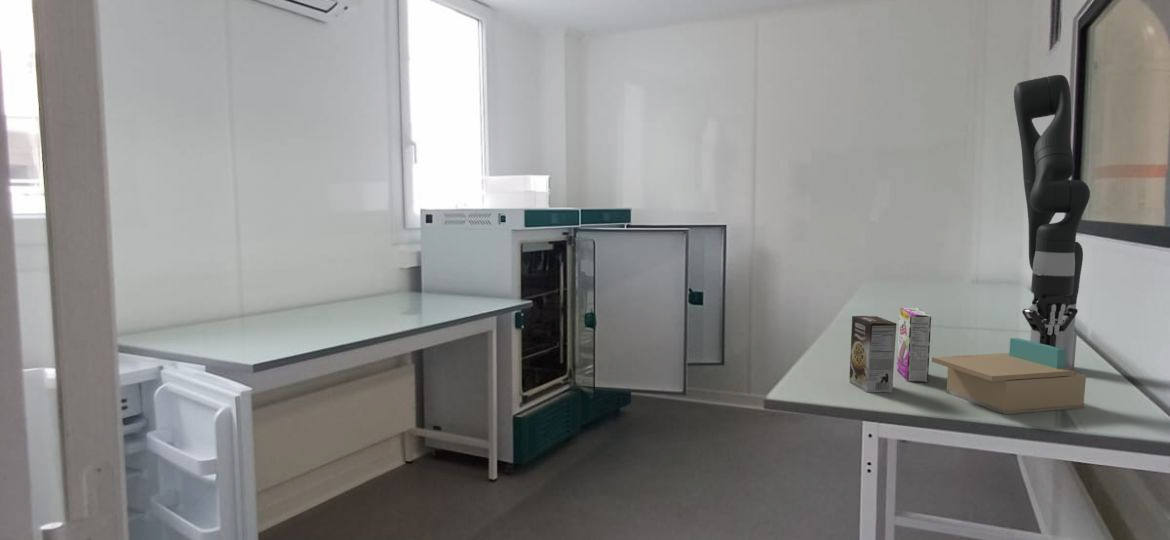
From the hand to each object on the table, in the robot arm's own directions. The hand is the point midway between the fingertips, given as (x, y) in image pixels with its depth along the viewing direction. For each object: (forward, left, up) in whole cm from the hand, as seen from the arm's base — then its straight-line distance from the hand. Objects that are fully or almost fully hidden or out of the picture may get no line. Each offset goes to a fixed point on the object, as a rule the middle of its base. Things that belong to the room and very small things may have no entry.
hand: (1046, 350), depth 150 cm
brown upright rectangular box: (+32, -16, -11) cm, 38 cm away
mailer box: (+8, 0, -11) cm, 13 cm away
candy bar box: (+16, -22, -11) cm, 29 cm away
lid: (+12, 0, -3) cm, 12 cm away
